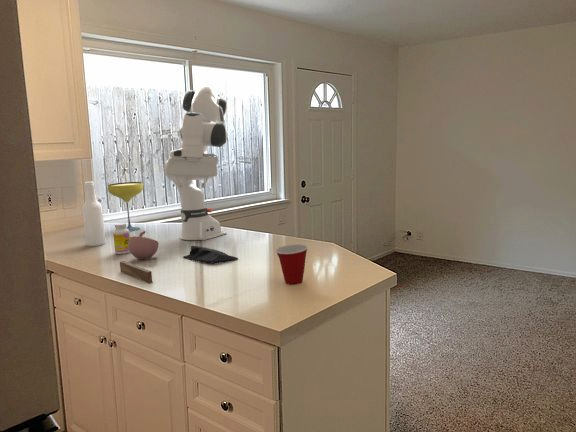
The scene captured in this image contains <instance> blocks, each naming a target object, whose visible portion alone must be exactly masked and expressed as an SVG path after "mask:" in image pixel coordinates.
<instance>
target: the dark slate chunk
mask: <svg viewBox="0 0 576 432" xmlns="http://www.w3.org/2000/svg"><path fill="white" fill-rule="evenodd" d="M182 259H184V260H186V259H187V260H189V261H193V262H199V263H201V264H206V265H216V264H223V263H229V262H234V261H237V260H239V258H238V257H236V256H233V255H229V254H227V253H226V252H222V251H220V250H218V249H214V248H209V247H204V246H198V245H191V246H190V251H189V253H188V254H186V255H184V256H183V257H182Z"/></svg>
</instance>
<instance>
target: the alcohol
mask: <svg viewBox="0 0 576 432" xmlns="http://www.w3.org/2000/svg"><path fill="white" fill-rule="evenodd" d="M94 183H95V182H94V181H93V180H91V181H85V182H84V186H85V188H84V189H85V192H84V193H85V202H84V204H83V205H82V207H81V211H82V221H83V228H84V236H85V237H84V238H85V244H86V245H87V247H99V246H103V245H105V244H106V242H107V240H106V230H105V223H104V214H103V212H104V210H103V206H102V204H101V203H100V201H99V200H98V199H97V195H96V190H95V184H94Z"/></svg>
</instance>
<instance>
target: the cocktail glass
mask: <svg viewBox="0 0 576 432" xmlns="http://www.w3.org/2000/svg"><path fill="white" fill-rule="evenodd" d="M143 190H144V184H143V182H142V181H127V182H115V183H110V184H108V185H107V191H108V193H109V194H110V195H111V196H114V197H116V198H119V199H121V200H122V201H123V202H124V203H126V209H127V221H128V223H127V226H126V229H128V230H129V232H134V231H135V230H136V231H139V230H140V229H141V227H139V226H132V224H131V219H130V213H129V202H130V201H131V200H132V199H133V198H134V197H136V196H137V195H139V194H140V193H141V192H142V191H143Z"/></svg>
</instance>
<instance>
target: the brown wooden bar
mask: <svg viewBox="0 0 576 432" xmlns="http://www.w3.org/2000/svg"><path fill="white" fill-rule="evenodd" d="M119 269H120V270H119V271H120V273H121V274H125V275H127V276H129V277H132V278H134V279H137V280H139V281H141V282H144V283H147V284H151V283H153V273H152V271H151V270H149V269H146V268H143V267H141V266H138V265H135V264H133V263H131V262H127V261H125V260H121V261H119Z"/></svg>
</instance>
